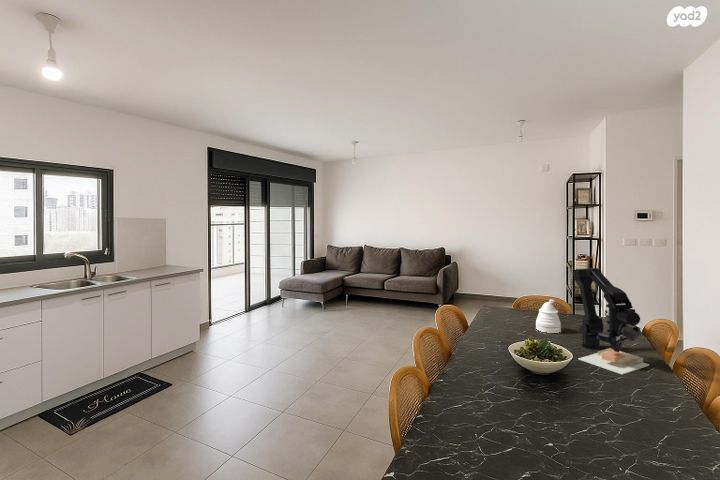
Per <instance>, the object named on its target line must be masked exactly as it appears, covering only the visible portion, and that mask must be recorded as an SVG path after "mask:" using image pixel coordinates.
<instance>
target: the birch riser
mask: <svg viewBox="0 0 720 480" xmlns="http://www.w3.org/2000/svg"><path fill="white" fill-rule="evenodd" d="M609 350H612V351H614V350H613V348H612V347H609V348H606V349H602V350H598V351H597V353H598V356H599V357H602V354H604V353H606V352H608V351H609ZM619 352H620V353H623V358H621V359H620V360H618V361H616V362H618V363H621V364H624V365H627V366H630V367H631V366H634V365H637V364H640V363H644V358H643V357H642V356H641V357H640V356H638V355H635V354H631V353H627V352H625V351H621V350H620V351H619Z"/></svg>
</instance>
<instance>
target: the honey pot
mask: <svg viewBox="0 0 720 480" xmlns="http://www.w3.org/2000/svg"><path fill="white" fill-rule="evenodd" d="M554 303H555V300H554V299H549V301H546V302H544V303H543V304H542V306H541V307H540V308H539V309H538V314H537V317H536V320H535V330H536V329H537V330H539V331H541V332H547V333H558V334H560V333H561V332H562V322H561V321H560V318H559V315H558V313H559V310H557V309H556V308H555V307H554V305H553V304H554ZM537 330H536V331H537ZM541 332H540V333H541ZM559 332H560V333H559Z"/></svg>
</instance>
